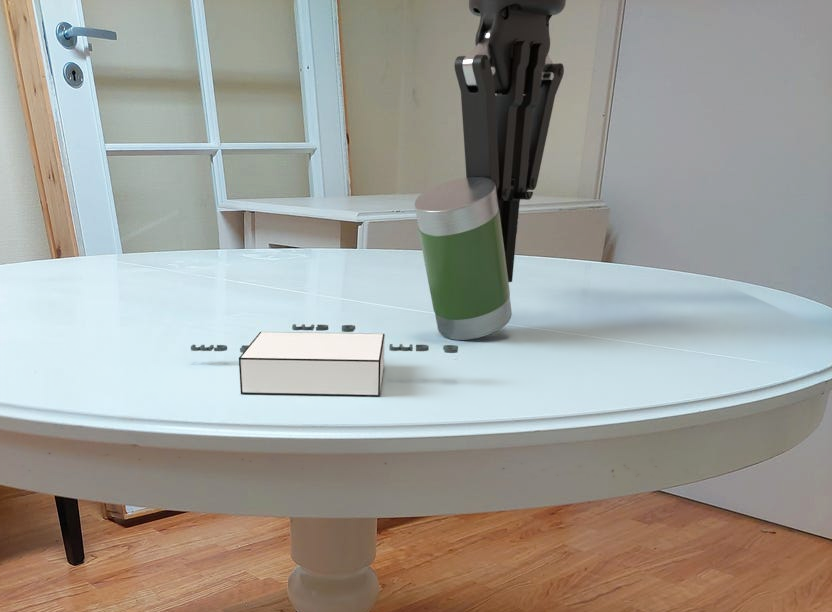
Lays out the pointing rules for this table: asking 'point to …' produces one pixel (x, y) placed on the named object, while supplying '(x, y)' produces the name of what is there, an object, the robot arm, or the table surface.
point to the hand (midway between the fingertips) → (495, 280)
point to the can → (464, 257)
